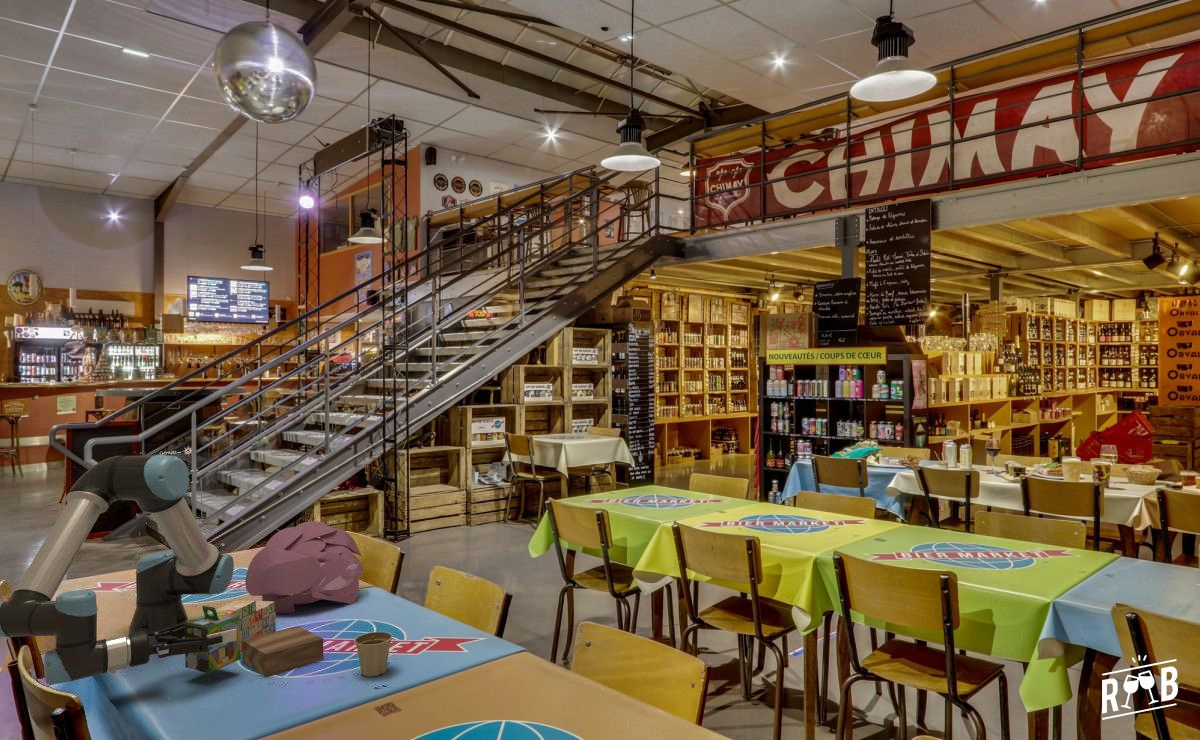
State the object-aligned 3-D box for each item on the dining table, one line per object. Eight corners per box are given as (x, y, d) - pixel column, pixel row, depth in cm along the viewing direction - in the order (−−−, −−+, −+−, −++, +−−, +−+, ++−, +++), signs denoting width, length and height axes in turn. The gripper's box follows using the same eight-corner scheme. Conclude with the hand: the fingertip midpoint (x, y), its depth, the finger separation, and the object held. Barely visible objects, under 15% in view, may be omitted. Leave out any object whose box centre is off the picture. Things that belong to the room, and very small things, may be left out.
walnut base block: (242, 663, 188) (242, 640, 189) (298, 647, 199) (298, 625, 200) (265, 678, 178) (265, 654, 178) (323, 661, 189) (323, 638, 189)
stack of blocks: (256, 631, 212) (256, 590, 212) (276, 632, 211) (276, 591, 211) (206, 659, 191) (206, 613, 191) (227, 660, 190) (227, 614, 190)
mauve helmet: (341, 602, 257) (339, 521, 263) (382, 600, 243) (378, 514, 249) (242, 618, 229) (243, 527, 235) (281, 616, 215) (281, 520, 221)
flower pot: (357, 682, 174) (357, 647, 174) (351, 669, 183) (351, 635, 183) (396, 675, 179) (396, 640, 179) (388, 662, 187) (388, 629, 187)
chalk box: (241, 660, 181) (241, 602, 181) (208, 674, 172) (208, 613, 173) (217, 654, 185) (217, 597, 185) (183, 668, 176) (183, 608, 177)
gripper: (119, 652, 175) (217, 631, 190) (136, 682, 158) (242, 656, 172) (119, 622, 176) (217, 602, 190) (136, 648, 158) (242, 625, 172)
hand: (229, 628), depth 181 cm, fingers closed on chalk box, 11 cm apart
